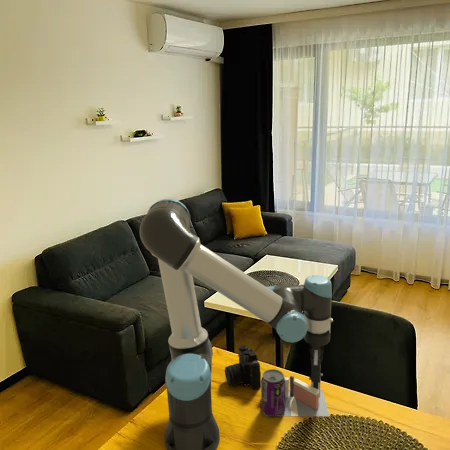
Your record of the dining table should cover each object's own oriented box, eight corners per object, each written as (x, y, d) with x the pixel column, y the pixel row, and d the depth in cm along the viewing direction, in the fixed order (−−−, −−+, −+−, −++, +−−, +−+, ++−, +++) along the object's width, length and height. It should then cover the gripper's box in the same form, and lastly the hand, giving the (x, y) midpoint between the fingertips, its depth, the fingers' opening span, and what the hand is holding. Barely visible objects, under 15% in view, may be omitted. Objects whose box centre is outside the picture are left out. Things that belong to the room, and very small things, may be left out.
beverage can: (284, 419, 126) (284, 383, 123) (260, 417, 127) (259, 381, 124) (286, 403, 132) (286, 369, 129) (263, 401, 134) (262, 367, 131)
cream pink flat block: (293, 397, 135) (293, 380, 133) (296, 395, 136) (296, 378, 134) (315, 409, 129) (316, 392, 127) (318, 407, 130) (319, 390, 128)
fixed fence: (264, 396, 136) (264, 378, 134) (264, 393, 138) (264, 375, 136) (293, 396, 136) (294, 378, 134) (293, 393, 137) (293, 375, 135)
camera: (220, 371, 150) (219, 345, 148) (249, 365, 153) (249, 340, 151) (232, 396, 138) (231, 368, 135) (263, 389, 140) (263, 362, 138)
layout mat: (264, 416, 128) (264, 415, 128) (262, 390, 139) (262, 389, 139) (329, 417, 127) (329, 416, 127) (322, 390, 138) (322, 390, 138)
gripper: (330, 340, 119) (327, 412, 126) (330, 318, 131) (328, 384, 138) (302, 338, 121) (301, 408, 128) (305, 316, 133) (304, 381, 140)
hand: (315, 396), depth 133 cm, fingers closed
